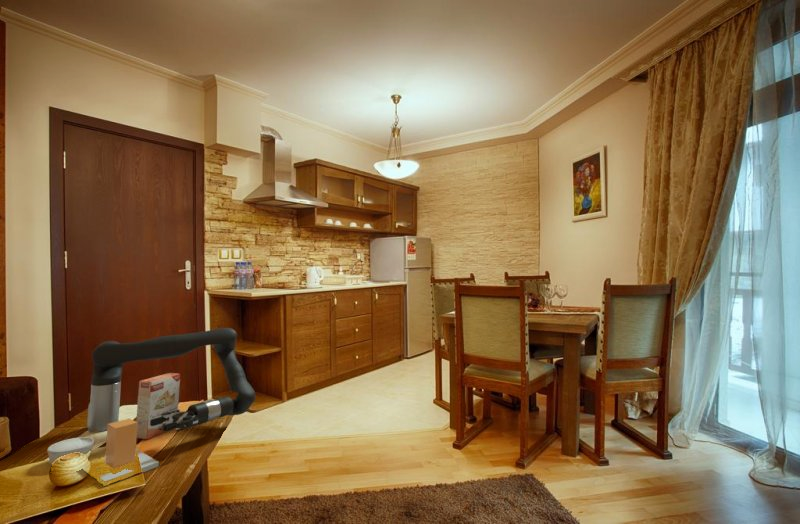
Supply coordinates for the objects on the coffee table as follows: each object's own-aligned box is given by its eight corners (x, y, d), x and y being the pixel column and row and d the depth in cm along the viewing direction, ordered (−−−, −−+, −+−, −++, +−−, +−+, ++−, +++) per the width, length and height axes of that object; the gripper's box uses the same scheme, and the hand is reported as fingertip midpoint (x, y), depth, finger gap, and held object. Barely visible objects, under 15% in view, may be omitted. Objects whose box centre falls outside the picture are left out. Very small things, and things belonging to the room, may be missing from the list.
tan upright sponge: (105, 463, 114) (107, 424, 115) (126, 456, 119) (129, 418, 120) (113, 469, 111) (115, 428, 112) (135, 461, 116) (137, 422, 117)
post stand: (80, 468, 114) (82, 440, 115) (132, 451, 126) (134, 425, 126) (104, 486, 104) (106, 455, 105) (158, 466, 116) (160, 439, 117)
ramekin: (101, 454, 123) (103, 438, 124) (65, 471, 112) (66, 453, 113) (75, 451, 126) (76, 435, 126) (36, 466, 115) (38, 449, 115)
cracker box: (148, 440, 135) (151, 382, 136) (134, 438, 136) (137, 380, 137) (178, 426, 148) (181, 373, 150) (165, 424, 150) (168, 371, 151)
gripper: (194, 398, 142) (147, 410, 128) (215, 405, 134) (167, 419, 120) (193, 418, 141) (145, 432, 128) (214, 427, 134) (166, 442, 120)
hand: (156, 426), depth 124 cm, fingers open, 8 cm apart
